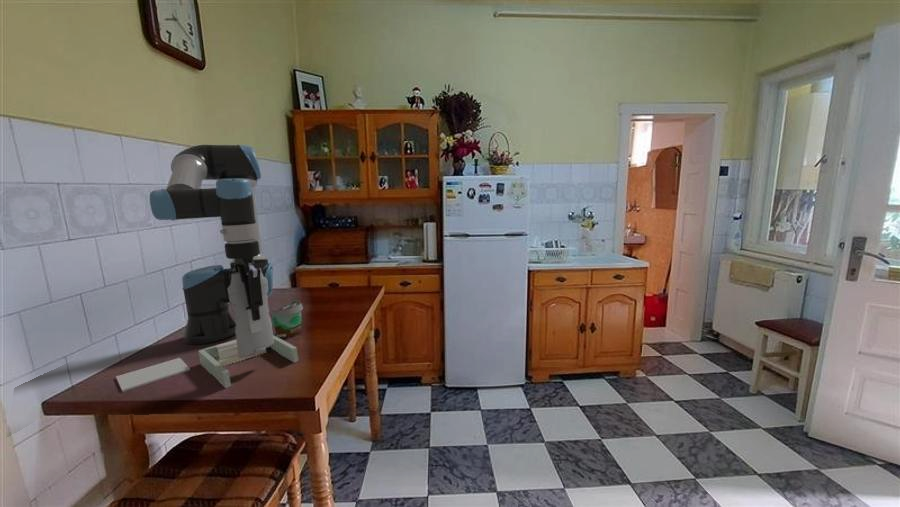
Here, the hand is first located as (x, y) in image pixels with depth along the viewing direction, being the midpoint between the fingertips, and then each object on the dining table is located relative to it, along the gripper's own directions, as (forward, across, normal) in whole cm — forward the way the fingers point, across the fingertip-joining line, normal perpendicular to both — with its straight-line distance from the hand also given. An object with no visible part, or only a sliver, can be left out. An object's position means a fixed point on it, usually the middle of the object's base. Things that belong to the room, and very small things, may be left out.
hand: (253, 329), depth 97 cm
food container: (+12, -18, +18) cm, 28 cm away
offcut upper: (+9, -13, 0) cm, 16 cm away
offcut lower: (+12, -13, 0) cm, 17 cm away
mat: (+11, -21, -19) cm, 30 cm away
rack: (+11, -7, 0) cm, 13 cm away
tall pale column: (+6, 0, 0) cm, 6 cm away
